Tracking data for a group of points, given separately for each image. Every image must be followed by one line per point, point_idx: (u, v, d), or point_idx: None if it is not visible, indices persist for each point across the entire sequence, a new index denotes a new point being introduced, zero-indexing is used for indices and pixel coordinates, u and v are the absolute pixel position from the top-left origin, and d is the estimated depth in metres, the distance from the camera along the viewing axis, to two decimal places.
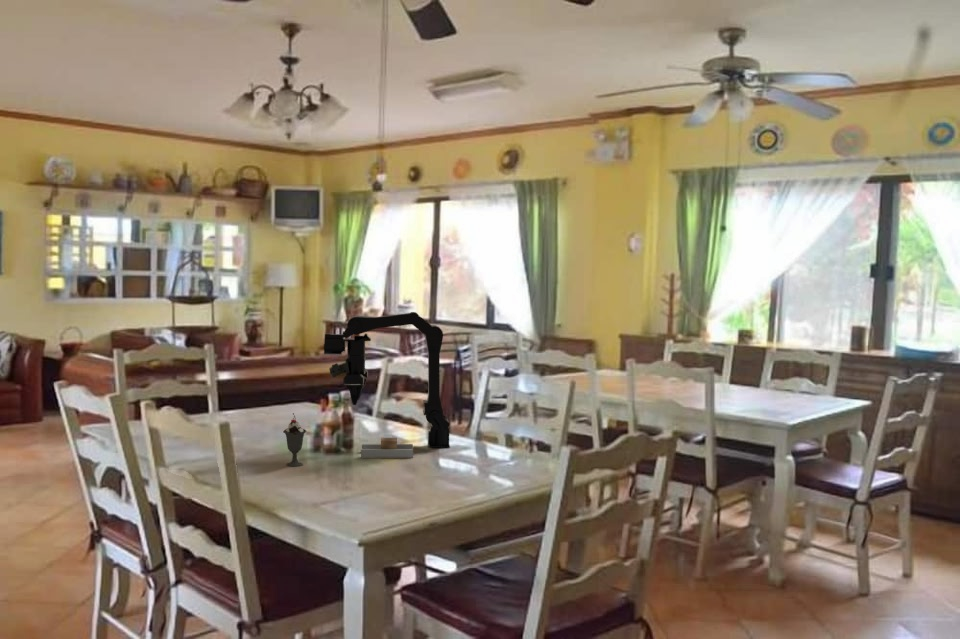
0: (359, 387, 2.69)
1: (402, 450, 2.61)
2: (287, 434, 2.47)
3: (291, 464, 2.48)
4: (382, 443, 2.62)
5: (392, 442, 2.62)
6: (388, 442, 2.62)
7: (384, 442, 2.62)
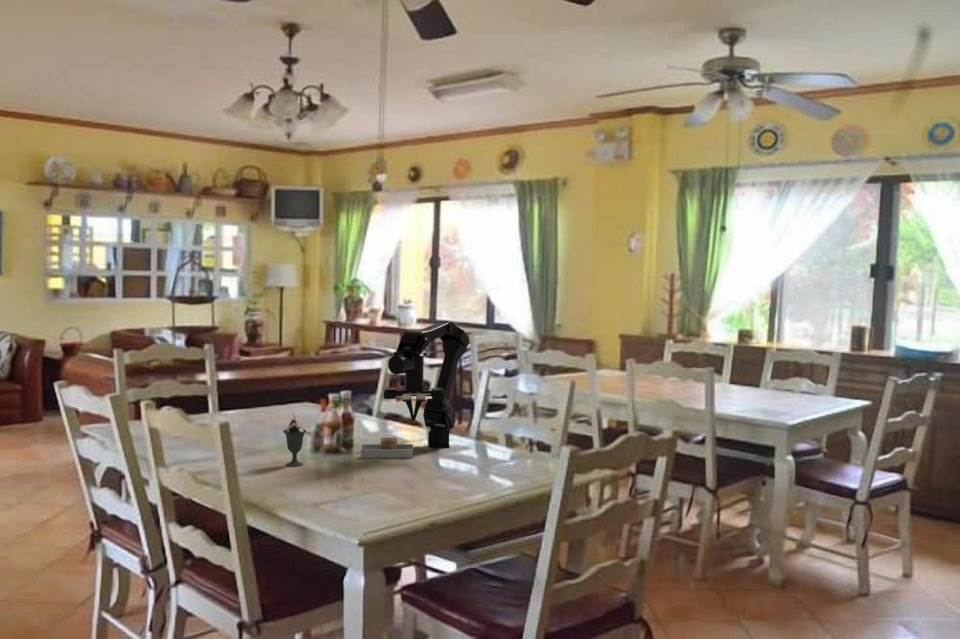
0: None
1: (402, 450, 2.61)
2: (287, 434, 2.47)
3: (291, 464, 2.48)
4: (382, 443, 2.62)
5: (392, 442, 2.62)
6: (388, 442, 2.62)
7: (384, 442, 2.62)
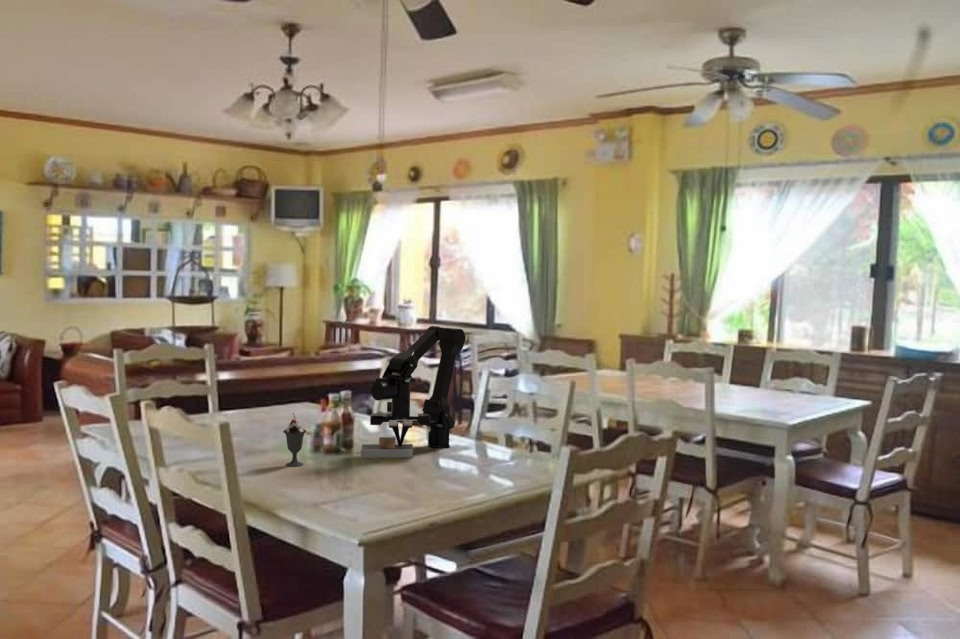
0: None
1: (402, 450, 2.61)
2: (287, 434, 2.47)
3: (291, 464, 2.48)
4: (380, 443, 2.62)
5: (390, 442, 2.62)
6: (386, 442, 2.62)
7: (383, 441, 2.62)
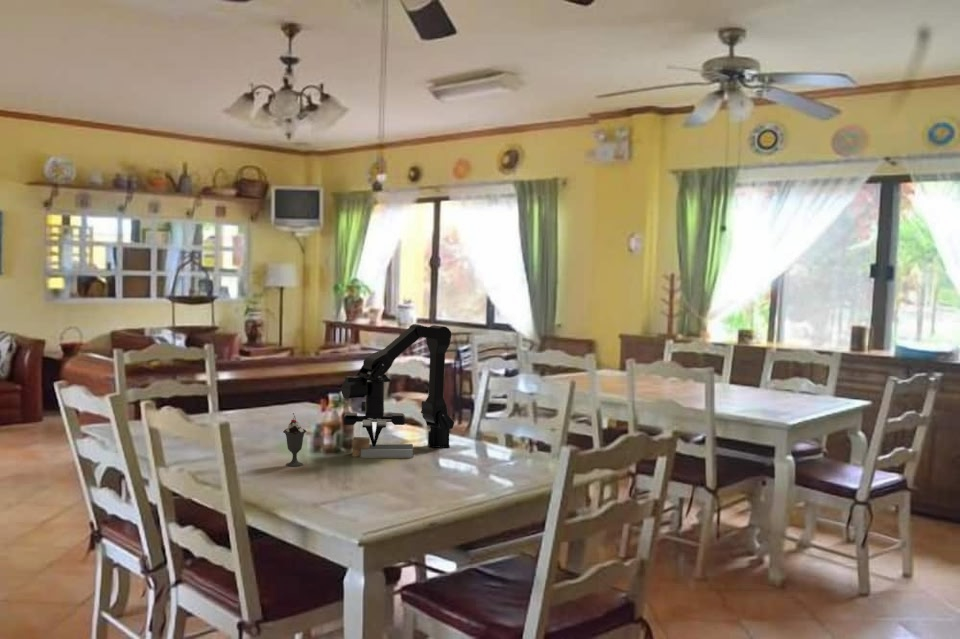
0: None
1: (402, 450, 2.61)
2: (287, 434, 2.47)
3: (291, 464, 2.48)
4: (354, 443, 2.61)
5: (364, 442, 2.61)
6: (360, 442, 2.61)
7: (356, 441, 2.61)
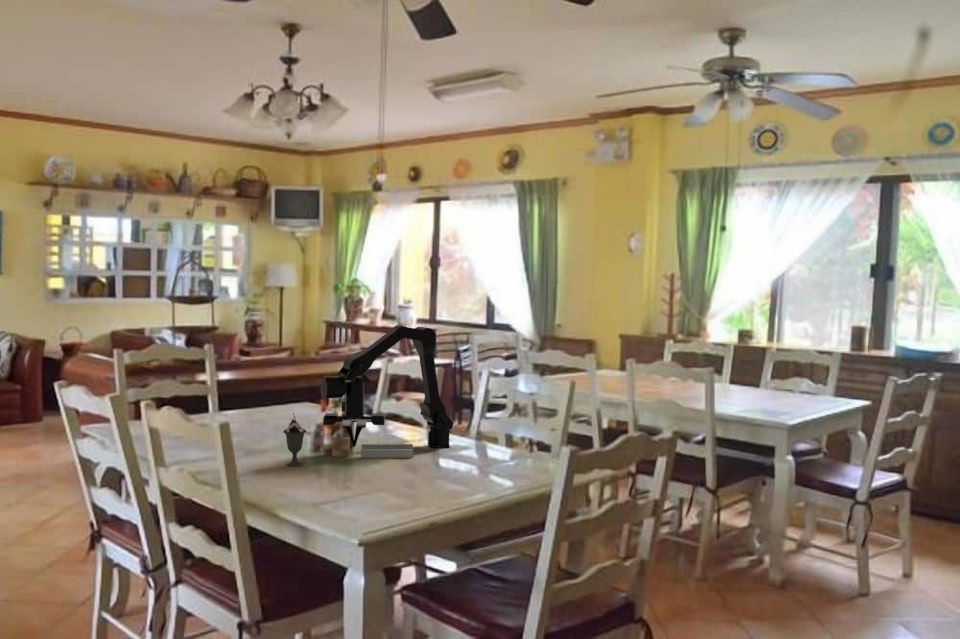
0: None
1: (402, 450, 2.61)
2: (287, 434, 2.47)
3: (291, 464, 2.48)
4: (334, 443, 2.61)
5: (344, 442, 2.61)
6: (340, 442, 2.61)
7: (336, 441, 2.61)
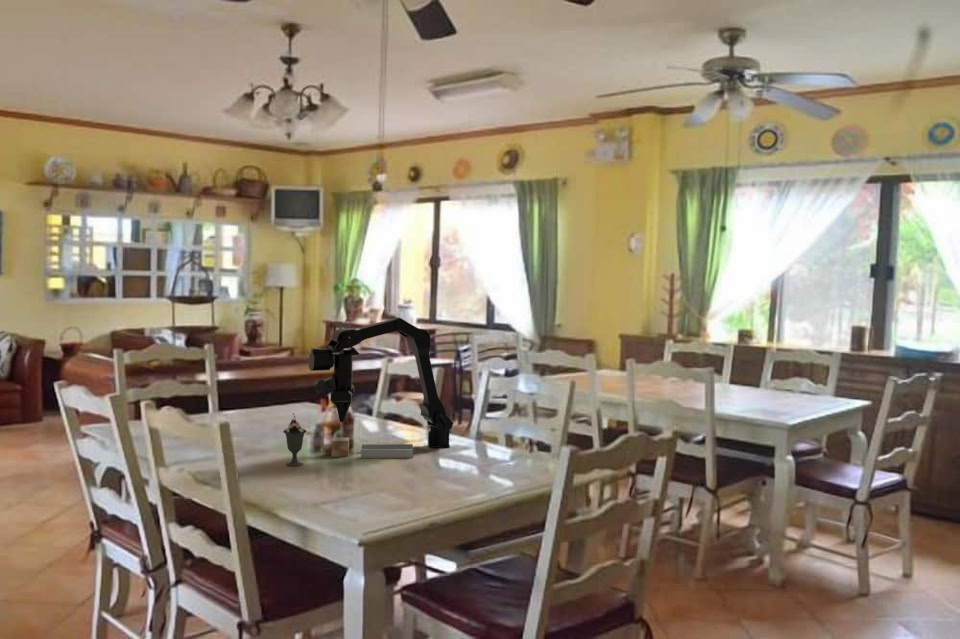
0: (347, 404, 2.57)
1: (402, 450, 2.61)
2: (287, 434, 2.47)
3: (291, 464, 2.48)
4: (333, 443, 2.61)
5: (343, 442, 2.61)
6: (339, 442, 2.61)
7: (335, 442, 2.61)
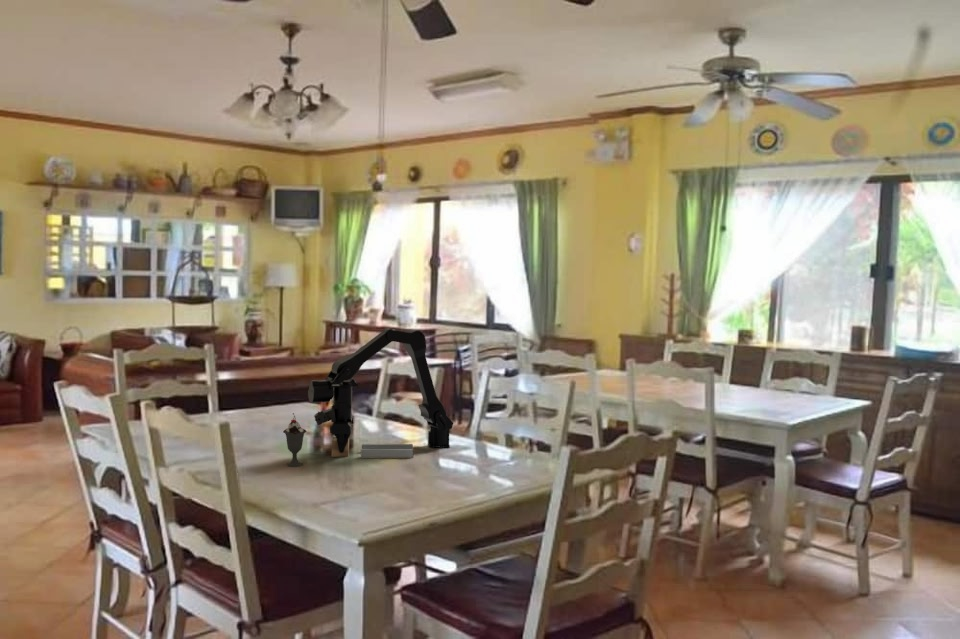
0: (347, 435, 2.59)
1: (402, 450, 2.61)
2: (287, 434, 2.47)
3: (291, 464, 2.48)
4: (333, 443, 2.61)
5: None
6: None
7: (335, 441, 2.61)
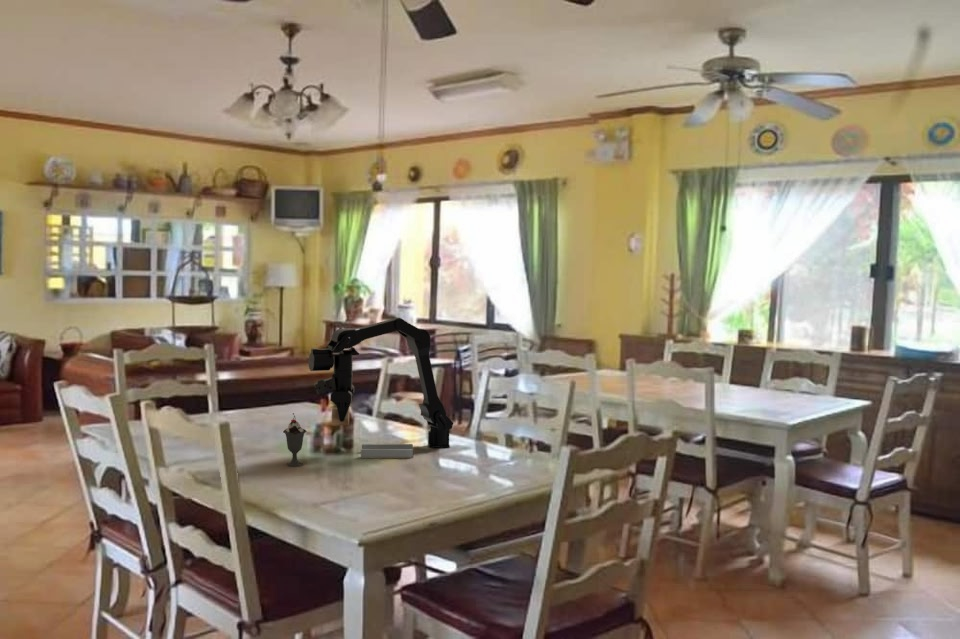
0: (347, 403, 2.58)
1: (402, 450, 2.61)
2: (287, 434, 2.47)
3: (291, 464, 2.48)
4: (333, 411, 2.60)
5: None
6: None
7: (336, 410, 2.60)
